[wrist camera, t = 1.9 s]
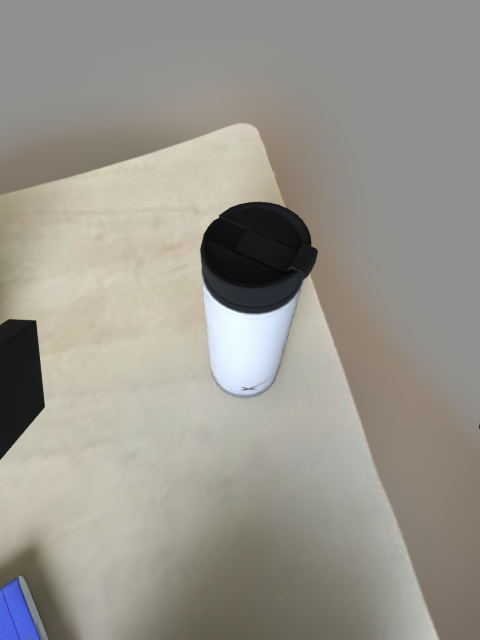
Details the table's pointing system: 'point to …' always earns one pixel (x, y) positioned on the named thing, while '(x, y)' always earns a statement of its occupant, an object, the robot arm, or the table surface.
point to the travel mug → (252, 291)
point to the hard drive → (19, 613)
